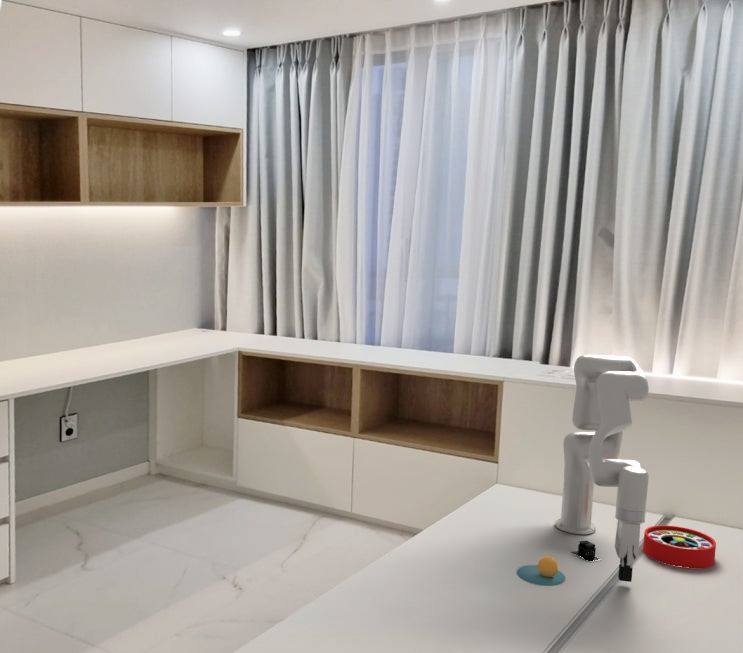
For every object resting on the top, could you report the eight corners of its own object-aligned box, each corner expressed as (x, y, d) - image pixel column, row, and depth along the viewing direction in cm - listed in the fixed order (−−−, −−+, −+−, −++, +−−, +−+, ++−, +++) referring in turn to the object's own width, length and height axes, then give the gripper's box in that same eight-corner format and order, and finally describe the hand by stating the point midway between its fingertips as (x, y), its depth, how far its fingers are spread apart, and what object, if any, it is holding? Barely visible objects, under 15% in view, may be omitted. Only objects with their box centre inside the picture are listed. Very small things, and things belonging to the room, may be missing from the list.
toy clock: (664, 520, 248) (727, 540, 233) (663, 538, 248) (726, 559, 234) (631, 534, 235) (696, 555, 220) (630, 552, 235) (695, 575, 220)
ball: (558, 569, 216) (538, 573, 217) (554, 551, 216) (534, 554, 216) (561, 579, 211) (541, 582, 211) (557, 560, 210) (537, 563, 211)
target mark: (516, 563, 222) (517, 562, 222) (563, 568, 220) (564, 568, 220) (516, 581, 209) (516, 581, 209) (566, 588, 207) (566, 587, 207)
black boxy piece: (562, 551, 234) (563, 537, 234) (581, 548, 237) (582, 534, 237) (591, 567, 223) (592, 552, 223) (611, 564, 226) (612, 549, 226)
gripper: (612, 503, 217) (607, 567, 218) (619, 521, 202) (613, 589, 204) (640, 506, 215) (635, 570, 217) (649, 524, 201) (643, 593, 202)
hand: (624, 579), depth 210 cm, fingers closed
